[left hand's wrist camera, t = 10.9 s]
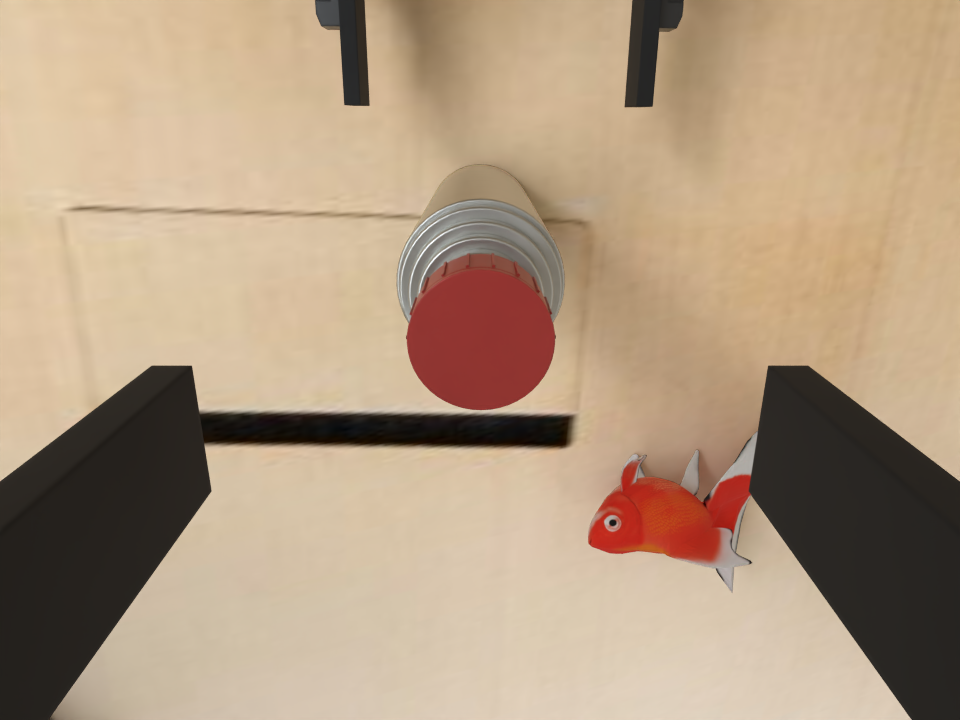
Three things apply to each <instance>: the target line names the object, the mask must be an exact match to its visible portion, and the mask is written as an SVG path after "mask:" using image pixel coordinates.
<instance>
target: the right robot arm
mask: <svg viewBox="0 0 960 720" xmlns="http://www.w3.org/2000/svg"><path fill="white" fill-rule="evenodd" d="M683 1H684V0H633V1H632V15H631V28H630V42H629V55H628V69H627V83H626V96H625V107H653V96H654V84H655V73H656V61H657V50H658V38H659V32H669V31H671V30H674V29H676V28H677V26H678V24H679V22H680V20H681V18H682V14H683ZM315 5H316V15H317V17H318V19H319V22H320V24H321V26H322V27H324V28H326V29H327V30H340V39H341V56H342V73H343V89H344V105H352V106H369V85H368V65H367V44H366V23H365V2H364V0H315Z"/></svg>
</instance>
